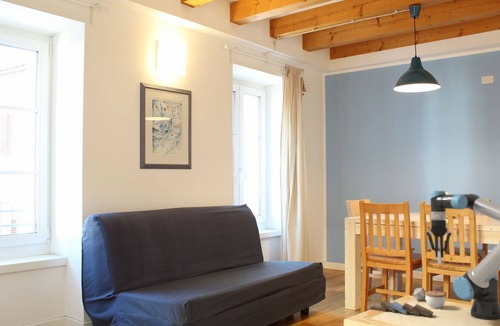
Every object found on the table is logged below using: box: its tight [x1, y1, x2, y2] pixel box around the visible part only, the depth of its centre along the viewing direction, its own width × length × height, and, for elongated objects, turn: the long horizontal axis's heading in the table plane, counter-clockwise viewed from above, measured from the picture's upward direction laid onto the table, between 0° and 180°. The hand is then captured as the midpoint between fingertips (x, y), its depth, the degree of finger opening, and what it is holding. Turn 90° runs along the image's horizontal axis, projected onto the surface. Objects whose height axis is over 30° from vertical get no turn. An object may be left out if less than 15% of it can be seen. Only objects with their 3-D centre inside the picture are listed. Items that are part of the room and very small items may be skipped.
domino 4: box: [402, 302, 421, 317], centre depth 271 cm, size 2×5×9 cm
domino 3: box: [390, 301, 410, 315], centre depth 275 cm, size 2×5×9 cm
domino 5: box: [413, 304, 434, 318], centre depth 268 cm, size 2×5×9 cm
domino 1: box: [369, 304, 390, 313], centre depth 281 cm, size 2×5×9 cm
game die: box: [411, 286, 427, 302], centre depth 301 cm, size 9×8×10 cm
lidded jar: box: [425, 289, 446, 309], centre depth 286 cm, size 11×11×9 cm
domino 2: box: [379, 300, 399, 314], centre depth 279 cm, size 2×5×9 cm
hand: (439, 263), depth 275 cm, fingers closed
